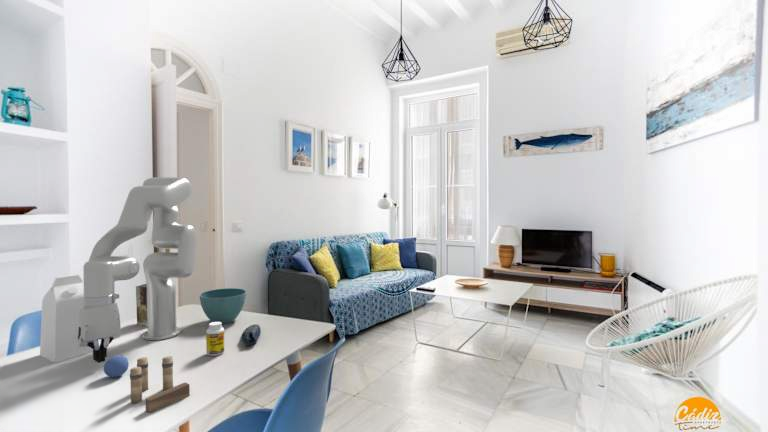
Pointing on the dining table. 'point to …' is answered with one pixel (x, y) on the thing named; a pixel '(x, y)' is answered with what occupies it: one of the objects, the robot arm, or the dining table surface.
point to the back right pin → (136, 385)
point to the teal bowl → (223, 304)
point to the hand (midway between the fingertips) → (99, 361)
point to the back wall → (167, 397)
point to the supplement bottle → (215, 339)
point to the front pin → (143, 372)
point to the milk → (62, 319)
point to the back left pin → (167, 372)
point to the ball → (116, 366)
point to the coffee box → (141, 304)
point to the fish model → (251, 334)
